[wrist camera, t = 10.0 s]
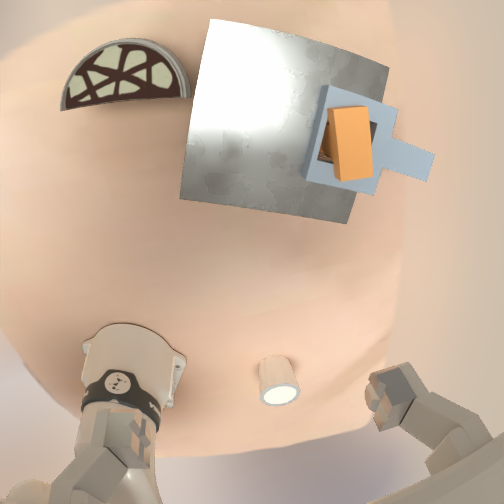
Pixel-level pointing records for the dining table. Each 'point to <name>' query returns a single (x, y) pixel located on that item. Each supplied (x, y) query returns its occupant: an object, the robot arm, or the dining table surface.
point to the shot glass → (277, 381)
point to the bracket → (383, 146)
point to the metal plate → (267, 119)
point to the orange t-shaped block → (348, 142)
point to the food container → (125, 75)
